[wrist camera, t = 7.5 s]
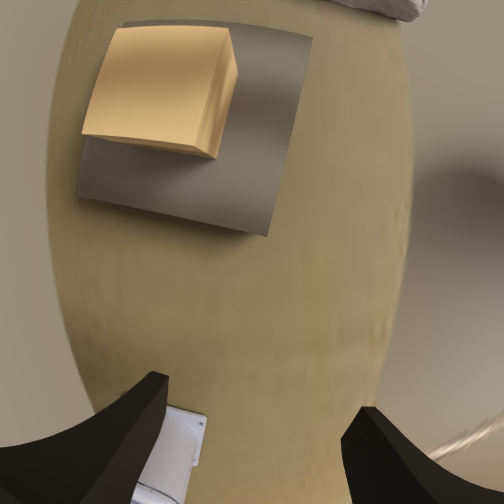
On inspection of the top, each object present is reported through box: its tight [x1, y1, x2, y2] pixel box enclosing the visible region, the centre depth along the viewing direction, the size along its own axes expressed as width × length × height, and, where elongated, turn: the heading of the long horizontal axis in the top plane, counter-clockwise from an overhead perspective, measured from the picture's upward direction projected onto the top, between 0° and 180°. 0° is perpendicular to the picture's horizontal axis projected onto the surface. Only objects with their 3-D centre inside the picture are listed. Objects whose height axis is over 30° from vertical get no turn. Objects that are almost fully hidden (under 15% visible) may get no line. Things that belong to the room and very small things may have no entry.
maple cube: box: [82, 26, 238, 159], centre depth 11 cm, size 5×5×5 cm
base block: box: [75, 20, 313, 237], centre depth 15 cm, size 12×12×3 cm
